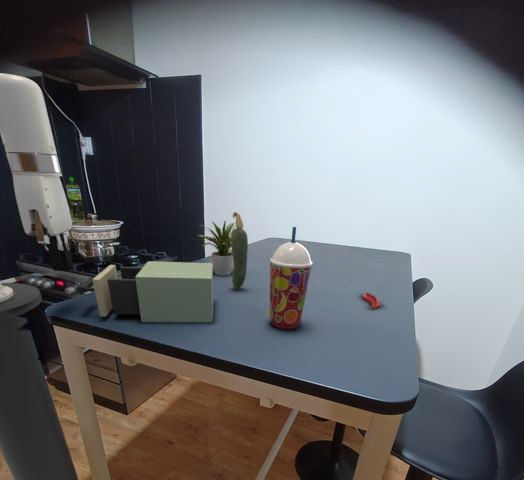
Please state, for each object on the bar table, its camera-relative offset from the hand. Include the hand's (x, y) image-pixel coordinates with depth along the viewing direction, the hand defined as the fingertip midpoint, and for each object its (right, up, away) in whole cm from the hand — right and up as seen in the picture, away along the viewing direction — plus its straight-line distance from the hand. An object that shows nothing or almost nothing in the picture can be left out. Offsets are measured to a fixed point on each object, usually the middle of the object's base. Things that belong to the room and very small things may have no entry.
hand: (63, 269), depth 65 cm
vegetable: (+34, 0, +23) cm, 41 cm away
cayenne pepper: (+70, -4, +21) cm, 73 cm away
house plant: (+28, +9, +38) cm, 48 cm away
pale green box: (+22, -8, +7) cm, 25 cm away
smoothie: (+46, -11, +5) cm, 47 cm away
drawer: (+11, -7, +6) cm, 14 cm away
